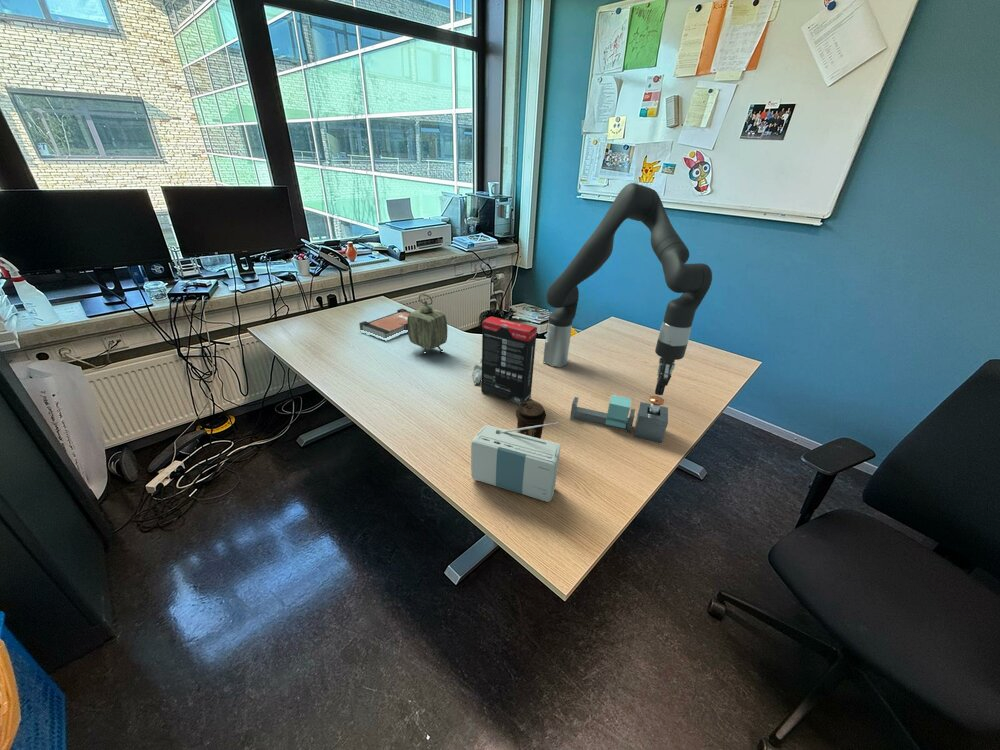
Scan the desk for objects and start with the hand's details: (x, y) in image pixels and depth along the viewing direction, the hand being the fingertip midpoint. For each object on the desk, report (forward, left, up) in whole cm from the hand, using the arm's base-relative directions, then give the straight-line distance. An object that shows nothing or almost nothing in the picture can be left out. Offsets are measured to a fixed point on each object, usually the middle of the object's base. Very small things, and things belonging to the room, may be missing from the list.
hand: (658, 393), depth 114 cm
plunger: (0, 0, -9) cm, 9 cm away
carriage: (-10, 0, -13) cm, 16 cm away
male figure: (-61, +18, -15) cm, 65 cm away
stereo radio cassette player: (-32, -36, -14) cm, 50 cm away
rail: (-15, 0, -14) cm, 20 cm away
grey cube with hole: (0, 0, -14) cm, 14 cm away
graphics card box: (-48, +3, -14) cm, 50 cm away
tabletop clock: (-90, +23, -14) cm, 94 cm away
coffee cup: (-33, -20, -14) cm, 41 cm away
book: (-116, +40, -15) cm, 124 cm away
